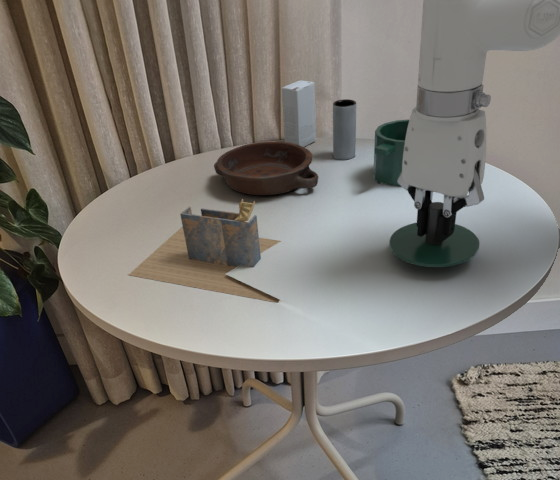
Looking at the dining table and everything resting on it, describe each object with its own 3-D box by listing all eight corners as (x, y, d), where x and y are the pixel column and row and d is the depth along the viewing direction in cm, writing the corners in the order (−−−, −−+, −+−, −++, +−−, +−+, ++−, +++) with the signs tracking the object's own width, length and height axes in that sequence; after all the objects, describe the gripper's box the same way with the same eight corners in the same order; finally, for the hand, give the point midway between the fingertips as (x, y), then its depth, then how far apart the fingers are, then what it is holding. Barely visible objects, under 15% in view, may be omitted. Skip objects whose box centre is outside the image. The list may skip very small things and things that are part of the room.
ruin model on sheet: (318, 246, 91) (317, 186, 84) (277, 302, 80) (272, 239, 73) (182, 226, 99) (171, 171, 93) (128, 274, 88) (111, 215, 81)
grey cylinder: (339, 161, 116) (339, 107, 109) (329, 154, 119) (328, 102, 112) (359, 156, 117) (360, 103, 110) (348, 150, 120) (349, 97, 114)
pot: (455, 168, 110) (461, 122, 104) (405, 200, 101) (409, 151, 95) (404, 155, 116) (407, 111, 110) (352, 184, 107) (353, 138, 102)
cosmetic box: (301, 138, 128) (299, 78, 120) (317, 141, 125) (316, 81, 117) (283, 146, 124) (279, 86, 116) (299, 150, 122) (296, 89, 114)
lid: (494, 242, 83) (502, 199, 79) (448, 280, 77) (454, 236, 73) (419, 220, 90) (422, 179, 86) (372, 253, 84) (373, 211, 80)
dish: (238, 160, 120) (236, 135, 117) (337, 172, 112) (337, 146, 109) (194, 194, 109) (189, 168, 106) (299, 210, 101) (298, 182, 97)
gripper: (525, 99, 68) (499, 240, 80) (409, 83, 77) (401, 211, 89) (494, 119, 64) (472, 263, 76) (375, 99, 73) (372, 231, 85)
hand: (434, 234), depth 82 cm, fingers closed on lid, 2 cm apart
